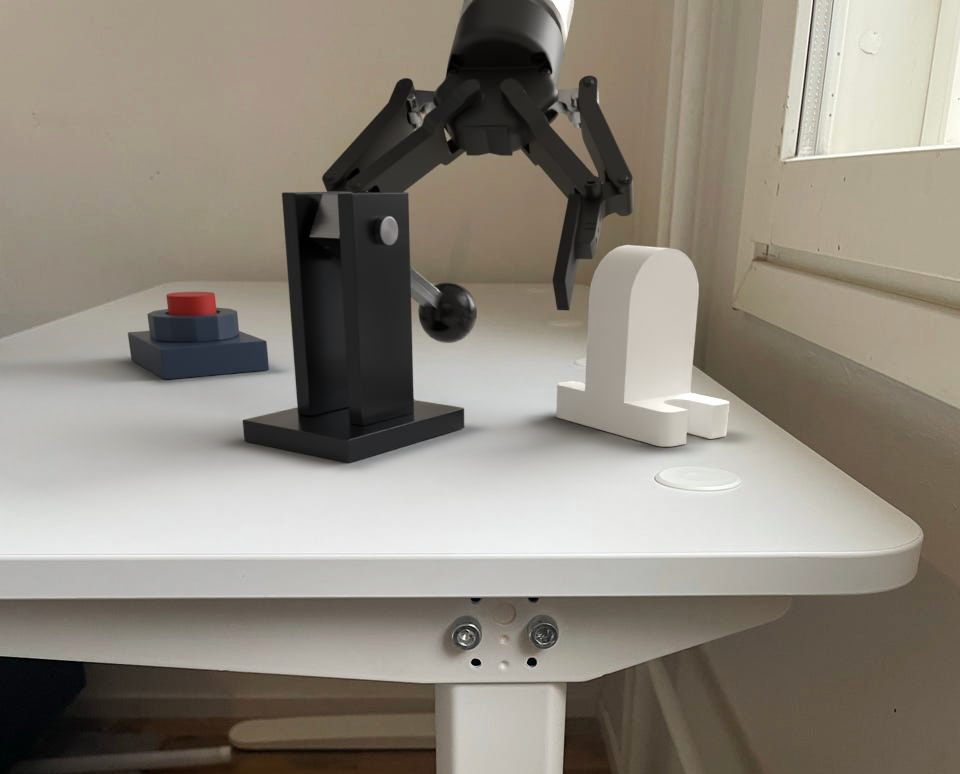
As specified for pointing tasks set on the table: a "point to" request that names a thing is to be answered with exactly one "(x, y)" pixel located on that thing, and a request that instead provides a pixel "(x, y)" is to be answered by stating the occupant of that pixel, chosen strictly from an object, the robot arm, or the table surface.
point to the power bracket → (351, 335)
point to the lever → (440, 305)
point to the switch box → (197, 345)
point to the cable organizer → (642, 352)
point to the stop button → (191, 303)
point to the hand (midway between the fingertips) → (452, 292)
